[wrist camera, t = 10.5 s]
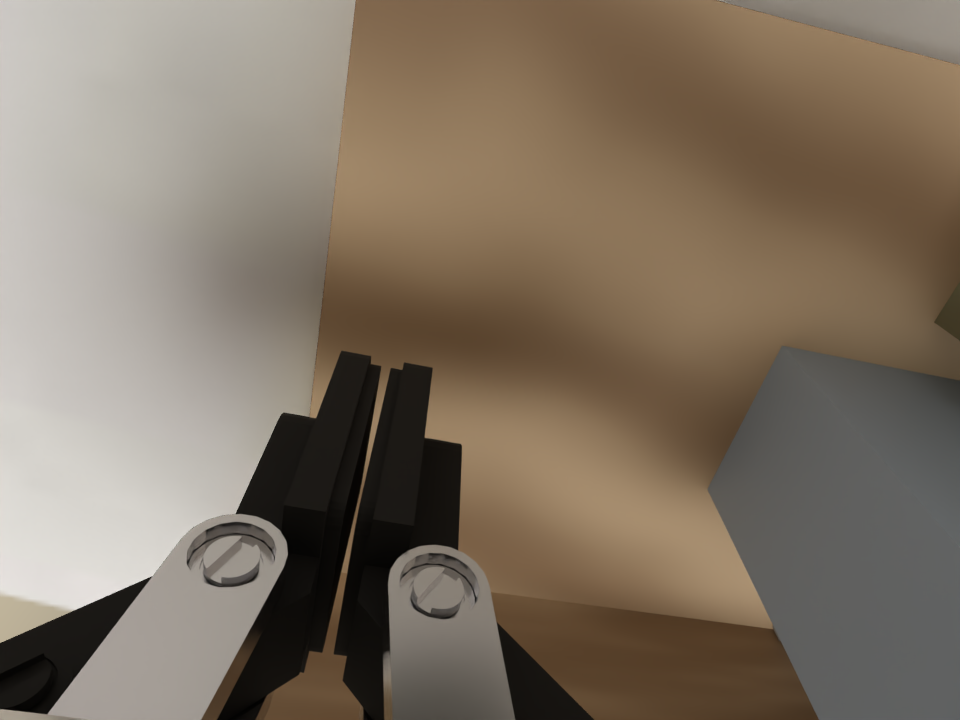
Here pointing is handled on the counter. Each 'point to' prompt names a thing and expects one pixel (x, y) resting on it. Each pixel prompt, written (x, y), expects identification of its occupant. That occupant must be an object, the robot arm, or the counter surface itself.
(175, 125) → the counter surface
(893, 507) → the boxed book
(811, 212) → the shelf
